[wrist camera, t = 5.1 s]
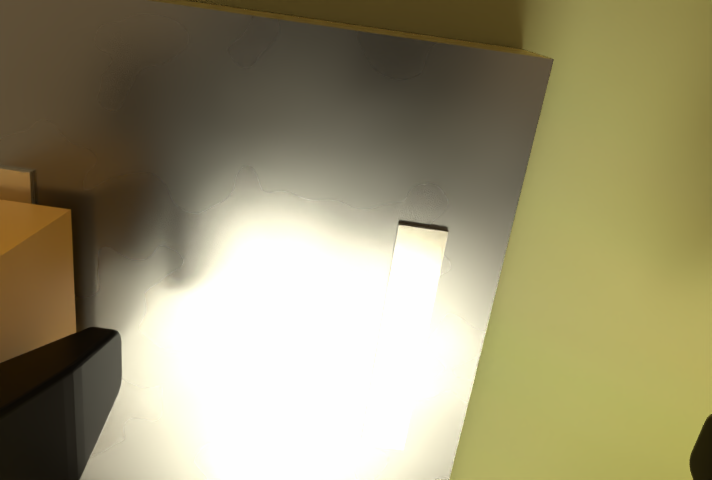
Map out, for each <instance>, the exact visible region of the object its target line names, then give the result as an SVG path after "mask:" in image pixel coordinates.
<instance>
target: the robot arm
mask: <svg viewBox="0 0 712 480" xmlns="http://www.w3.org/2000/svg"><path fill="white" fill-rule="evenodd" d="M121 382H122V339H121V335H120V333H119V332H118V331H117V330H115V329H108V328H101V327H88V328H86V329H83V330H81V331H78V332H76V333H73V334H71V335H69V336H66V337H64V338H61V339H59V340H56V341H54V342H51V343H49V344H46V345H44V346H41V347H39V348H36V349H34V350H31V351H29V352H26V353H24V354H21V355H19V356H16V357H14V358H11V359H9V360H6V361H4V362H1V363H0V480H80V478H81V476H82V474H83V472H84V470H85V467H86V465H87V463H88V461H89V458H90V456H91V454H92V452H93V449H94V447H95V445H96V443H97V441H98V438H99V436H100V434H101V432H102V429H103V427H104V425H105V423H106V420H107V418H108V416H109V414H110V411H111V409H112V407H113V405H114V402H115V400H116V398H117V396H118V393H119V390H120V387H121ZM690 471H691V474H692V477H693V480H712V414H711V415H710V416H709V417H707V419H706V421H705V423H704V425H703V427H702V430H701V432H700V434H699V437H698V439H697V441H696V443H695V446H694V448H693V450H692V453H691V456H690Z"/></svg>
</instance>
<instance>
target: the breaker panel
mask: <svg viewBox="0 0 712 480" xmlns="http://www.w3.org/2000/svg"><path fill="white" fill-rule="evenodd" d="M553 60H554V59H551V58H548V57H545V56H542V55H539V54H536V53H533V52H530V51H527V50H524V49H518V48H511V47H504V46H497V45H490V44H483V43H477V42H470V41H463V40H456V39H449V38H442V37H435V36H428V35H421V34H415V33H408V32H401V31H394V30H387V29H380V28H373V27H366V26H360V25H353V24H346V23H339V22H332V21H325V20H318V19H311V18H304V17H298V16H291V15H284V14H277V13H270V12H263V11H256V10H249V9H243V8H236V7H229V6H222V5H215V4H208V3H201V2H194V1H187V0H0V200H7V201H14V202H21V203H28V204H35V205H42V206H50V207H57V208H64V209H71V223H72V246H73V268H74V291H75V314H76V332H78V331H81V330H83V329H86V328H88V327H101V328H108V329H115V330H117V331H118V332H119V333H120V335H121V339H122V382H121V387H120V390H119V393H118V396H117V398H116V400H115V402H114V405H113V407H112V409H111V411H110V414H109V416H108V418H107V420H106V423H105V425H104V427H103V429H102V432H101V434H100V436H99V438H98V441H97V443H96V445H95V447H94V449H93V452H92V454H91V456H90V458H89V461H88V463H87V465H86V467H85V470H84V472H83V474H82V476H81V478H80V480H449V479H450V475H451V471H452V467H453V463H454V459H455V455H456V451H457V447H458V443H459V439H460V435H461V431H462V427H463V423H464V418H465V414H466V410H467V406H468V402H469V398H470V394H471V390H472V386H473V382H474V378H475V374H476V370H477V366H478V362H479V358H480V354H481V350H482V346H483V342H484V338H485V334H486V330H487V326H488V322H489V318H490V314H491V310H492V306H493V302H494V298H495V294H496V290H497V286H498V281H499V277H500V273H501V269H502V265H503V261H504V257H505V253H506V249H507V245H508V241H509V237H510V233H511V229H512V225H513V221H514V217H515V213H516V209H517V205H518V201H519V197H520V193H521V189H522V185H523V181H524V177H525V173H526V169H527V165H528V161H529V157H530V153H531V148H532V144H533V140H534V136H535V132H536V128H537V124H538V120H539V116H540V112H541V108H542V104H543V100H544V96H545V92H546V88H547V84H548V80H549V76H550V72H551V68H552V64H553Z"/></svg>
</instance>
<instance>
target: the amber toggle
mask: <svg viewBox="0 0 712 480" xmlns="http://www.w3.org/2000/svg"><path fill="white" fill-rule="evenodd" d="M73 333H76V314H75V291H74V268H73V246H72V223H71V209H64V208H57V207H50V206H42V205H35V204H28V203H21V202H14V201H7V200H0V363H1V362H4V361H6V360H9V359H11V358H14V357H16V356H19V355H21V354H24V353H26V352H29V351H31V350H34V349H36V348H39V347H41V346H44V345H46V344H49V343H51V342H54V341H56V340H59V339H61V338H64V337H66V336H69V335H71V334H73Z"/></svg>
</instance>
